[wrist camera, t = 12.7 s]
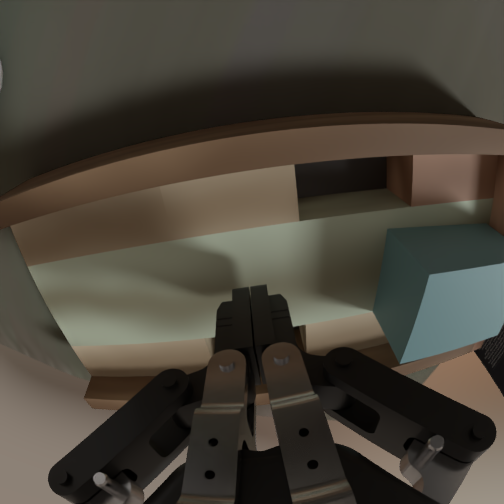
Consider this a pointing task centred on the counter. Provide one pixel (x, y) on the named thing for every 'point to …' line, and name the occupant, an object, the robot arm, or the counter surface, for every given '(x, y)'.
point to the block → (440, 288)
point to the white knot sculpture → (1, 75)
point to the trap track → (244, 233)
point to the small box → (494, 358)
